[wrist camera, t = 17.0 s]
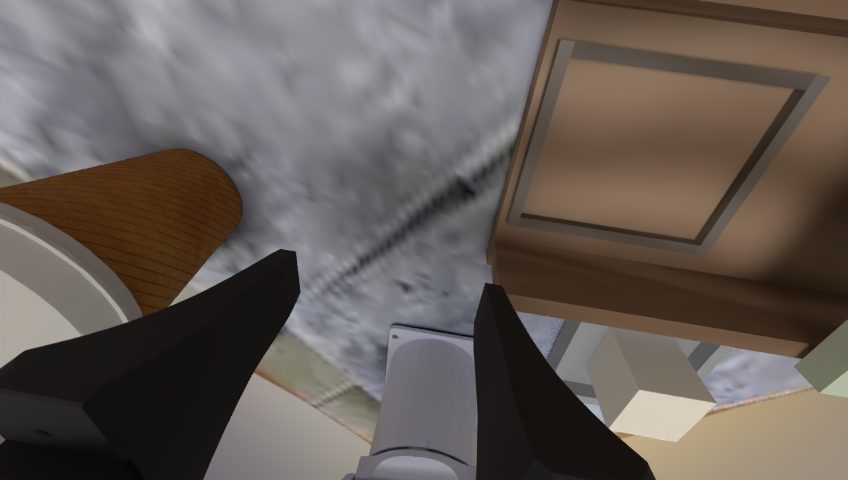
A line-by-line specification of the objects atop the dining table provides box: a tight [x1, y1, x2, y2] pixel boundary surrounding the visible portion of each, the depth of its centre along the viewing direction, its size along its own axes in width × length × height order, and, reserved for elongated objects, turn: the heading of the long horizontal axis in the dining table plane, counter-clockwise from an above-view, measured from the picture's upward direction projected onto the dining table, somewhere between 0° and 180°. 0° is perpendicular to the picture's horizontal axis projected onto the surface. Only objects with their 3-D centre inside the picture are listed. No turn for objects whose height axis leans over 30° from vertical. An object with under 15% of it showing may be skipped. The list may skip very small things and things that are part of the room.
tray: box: [547, 319, 733, 405], centre depth 25 cm, size 10×10×2 cm
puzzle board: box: [486, 0, 848, 359], centre depth 15 cm, size 16×24×6 cm, turn 83°
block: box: [586, 327, 717, 442], centre depth 23 cm, size 4×4×5 cm
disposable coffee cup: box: [0, 149, 242, 368], centre depth 18 cm, size 10×10×12 cm
